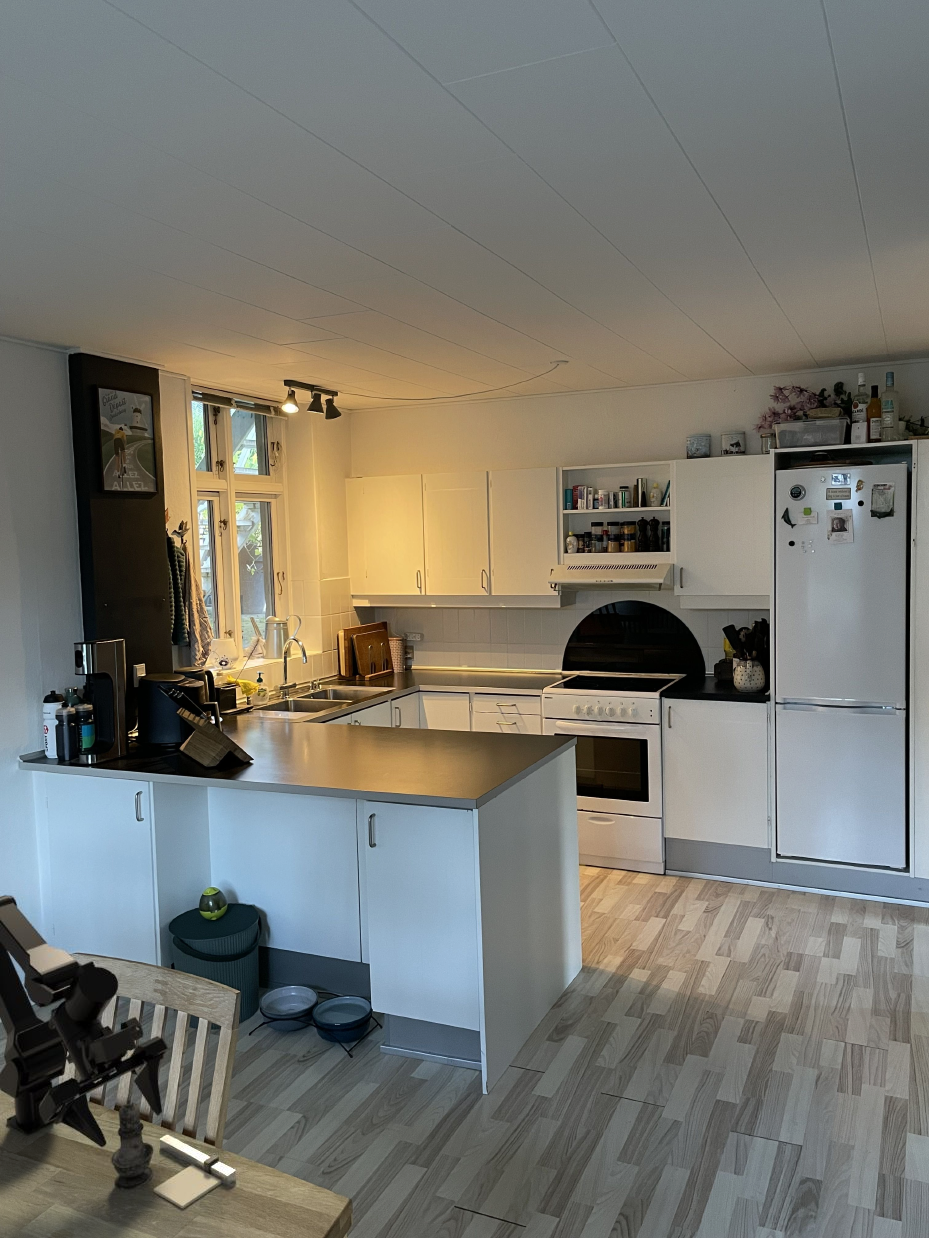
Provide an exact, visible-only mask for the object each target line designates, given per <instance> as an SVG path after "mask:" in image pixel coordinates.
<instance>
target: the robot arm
mask: <svg viewBox="0 0 929 1238" xmlns="http://www.w3.org/2000/svg"><path fill="white" fill-rule="evenodd" d="M11 957H12V958H11ZM12 959H14V960H15V962H16V964H18V966H19V967H20V969H21V970H22V972H23V973H24V979H23V981H24V982H23V983H22V980H21V978H20V976H19V973H18V971H17V969H16V967H15V964H14V961H13V960H12ZM118 989H119V981H118V977H117V976H116V974H115V973H113V972H112V971H111V970H109V969H107V968H104V967H101V966H96V965H95V963H94V961H89V962H86V963H84V964H81V963H80V962H78V961H77V960H76V959H75V958H74V957H73V956H72V955H70V953H68V951H65V950H64V949H60V948H55V947H52V946H51V945H50V944H49V943H48V942H47V941H46V940H45V939H44V937H43V936H42V935H41V934H40V933H39V931H37V929H36V928H35V927H34V925H32V923H31V922H30V921H29V919H28V918H27V917H26V916H25V915H24V913H23V912H22V911H21V910H20V909H19V907H18V903H17V901H16V899H15V897H14V896H13V895H8V894H5V895H1V896H0V1021H1V1023H2V1025H3V1026H2V1027H3V1029H4V1031H5V1033H6V1035H7V1037H6V1041H5V1042H6V1043H5V1047H4V1053H3V1058H4V1061H5V1065H4V1066H3V1068H2V1069H1V1071H0V1092H3V1093H4V1094H6V1095H8V1096H10V1097H11V1098H12V1099H13V1100H14V1101H13V1102H14V1111H15V1113H14V1115H12V1116H10V1117H8V1118H7V1119H6V1124H8V1125H10V1126H11V1127H13V1128H15V1129H16V1130H17V1131H19V1132H21V1133H23V1134H25V1135H29V1134H32V1133H33V1132H35V1131H37V1130H39V1129H41V1128H43V1127H45V1126H47V1125H49V1124H51V1123H53V1122H54V1123H55V1125H59V1124H64V1125H65V1126H68V1127H69V1128H71V1129H73V1130H75V1131H77V1132H79V1133H81V1134H82V1135H83V1136H85V1137H86V1138H88V1139H89V1140H90V1141H92V1142H93V1143H95V1144H96V1145H97V1146H99V1147H101V1148H104V1147H105V1146H106V1145H107V1141H106V1140H107V1139H106V1137H105V1135H104V1132H103V1131H102V1129H101V1127H100V1126H99V1124H98V1122H97V1119H95V1116H94V1115H93V1113H92V1111H91V1109H90V1107H89V1101H88V1097H87V1095H88V1094H89V1093H90V1092H93V1091H95V1090H97V1089H99V1088H101V1087H102V1086H104V1085H105V1086H106V1085H107V1084H108V1083H110V1082H112V1081H115V1080H116V1079H118V1078H120V1077H122V1076H124V1075H126V1074H128V1073H131V1074H132V1075H135V1076H136V1077H135V1079H134V1080H133V1082H134V1084H135V1085H136V1086H137V1088H138V1090H139V1091H140V1093H141V1095H142V1096H143V1098H144V1099H145V1101H146V1102H147V1104H148V1106H149V1107H150V1109H151V1110H152V1112H154V1114H155V1115H156V1116H158V1117H159V1116H160V1115H161V1114H162V1112H163V1108H162V1100H161V1094H160V1088H159V1087H160V1086H159V1069H160V1068H159V1067H160V1065H161V1063H162V1062H163V1061H164V1060H165V1055H166V1053H168V1051H169V1050H170V1047H169V1046H168V1044H167V1042H166V1040H165V1039H164V1038H163V1037H160V1036H158V1035H156V1036H154V1037H152V1038H151V1039H147V1040H146V1041H144V1042H142V1043H140V1044H138V1045H136V1041H137V1040H139V1039H141V1038H144V1031H143V1027H142V1025H141V1023H140V1022H139V1020H138V1018H137V1017H136V1016H134V1017H130V1018H128V1019H127V1020H124V1021H123V1022H121V1023H120V1029H119V1030H118V1031H115V1032H114V1031H113V1029H112V1028H111V1027H110V1026H109V1025H107V1026H104V1025H103V1024H102V1022H101V1020H100V1017H101V1016H102V1015H103V1013H104V1012H105V1011H106V1009H107V1008H108V1006H109V1005H110V1004H111V1001H112V1000H113V998H115V995H116V994H117V992H118ZM63 1000H64V1001H63ZM61 1001H62V1002H61ZM31 1002H32V1003H33V1004H34V1005H36V1006H37V1007H39V1008H45V1007H48V1006H51V1005H54V1004H57V1003H58V1002H61V1003H60V1004H58V1006H57V1007H55V1008H53V1009H51V1010H50V1011H51V1012H50V1018H49V1020H46V1021H44V1020H43V1019H42V1018H39V1017H38V1016H37V1014H36V1011H35V1009H34V1007H33V1005H32V1003H31ZM133 1050H134V1051H133ZM128 1051H130V1052H131V1051H133V1052H132V1054H131V1055H130V1056H129V1057H127V1058H126V1059H125V1058H124V1057H126V1056H127V1054H128ZM123 1058H124V1059H123ZM122 1059H123V1060H122ZM67 1062H68V1065H70V1064H74V1067H75V1068H76V1070H77V1072H78V1074H79V1077H80V1080H79V1081H78V1079H75V1078H74V1077H70V1078H69V1079H67V1080H64V1081H62V1082H61V1083H58V1084H57V1085H54V1086H53V1080H55V1079H57V1078H59V1077H62V1076H65V1072H66V1064H67Z"/></svg>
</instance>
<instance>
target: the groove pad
mask: <svg viewBox="0 0 929 1238" xmlns="http://www.w3.org/2000/svg"><path fill="white" fill-rule="evenodd" d="M221 1184H222V1181H221V1180H219V1179H217V1178H216V1177H214V1176H212V1175H210V1174H208V1173H206V1172H205V1171H203V1170H201V1169H199V1168H197V1167H195V1166H194V1165H191V1164H190V1166H188V1167H186V1168H184V1169H183V1170H181V1171H180V1172H179V1173H177V1174H175V1175H173V1176H172V1177H170V1178H169V1179H167V1180H165V1181H164V1182H163V1183H161V1184H159V1185H158V1186H156V1187H154V1188H153V1192H154V1193H156V1194H157V1195H158V1196H160V1197H162V1198H164V1199H166V1200H167V1201H169V1202H171V1203H172V1204H174V1205H176V1206H177V1207H179V1208H181V1209H185V1208H186V1207H188V1206H189V1205H191V1204H192V1203H194V1202H195V1201H196V1200H198V1199H199V1198H201V1197H203V1196H204V1195H205V1194H207V1193H209V1192H210V1191H211V1190H213V1189H215V1188H216V1187H218V1186H219V1185H221Z"/></svg>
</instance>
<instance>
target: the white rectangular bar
mask: <svg viewBox="0 0 929 1238" xmlns="http://www.w3.org/2000/svg"><path fill="white" fill-rule="evenodd" d="M159 1148H160V1149H161V1150H163V1151H165V1152H167V1153H169V1154H171V1155H172V1156H174V1157H176V1158H178V1159H180V1160H181V1161H183V1160H184V1161H183V1162H186V1163H187V1164H189V1165H190V1166H191V1165H194V1166H195V1167H197V1168H199V1169H201V1170H203V1171H205V1172H206V1173H208V1174H210V1175H212V1176H214V1177H216V1178H217V1179H219V1180H221V1183H222V1182H223V1183H224V1184H225V1185H228V1186H229V1185H230V1184H232V1183H233V1182H235V1181H236V1180H237V1175H236V1169H233V1168H232V1167H230V1166H228V1165H226V1164H224V1163H222V1162H220V1159H219V1158H220V1157H219V1156H218V1155H216V1154H213V1155H211V1156H209V1155H207V1154H205V1153H203V1152H201V1151H199V1150H197V1149H195V1148H194V1147H192V1146H190V1145H189V1144H187V1143H184V1142H183V1141H181V1140H179V1139H177V1138H175V1137H173V1136H171V1135H169V1134H166V1135H164V1136H162V1137H161V1138H159Z"/></svg>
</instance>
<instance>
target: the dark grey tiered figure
mask: <svg viewBox="0 0 929 1238" xmlns="http://www.w3.org/2000/svg"><path fill="white" fill-rule="evenodd" d="M140 1111H141V1109H140V1106H139V1104H138V1103H136V1102H132V1100H131V1099H130V1098H129V1097H128V1098H127V1099H126V1103H125V1104H123V1105H122V1106H121V1107H120V1109H119V1111H118V1118H119V1128H118V1129H117V1135H118V1136H119V1141H120V1146H119V1148H118V1149H117V1150H116V1151H114V1152H113V1154H112V1155H111V1157H110V1158H111V1159H110V1163H111V1164H112V1165H113V1169H114V1170H115V1172H116V1173H117V1175H116V1177H115V1179H114V1185H115V1187H116V1188H118V1190H119V1189H120V1190H125V1191H126V1190H127V1191H128V1190H129V1191H130V1190H135V1189H138V1188H139V1189H140V1187H141V1188H142V1187H143V1186H145V1185H147V1184H148V1183H149V1182H150V1181H151V1180H152V1179H153V1175H154V1172H153V1169H152V1168H151V1167H149V1166H150V1165H151V1161H152V1157H153V1155H154V1147H153V1146H152V1145H151V1144H150V1143H147V1142H144V1139H143V1130H144V1127H145V1126H144V1124H143V1123H142V1122H141V1112H140Z"/></svg>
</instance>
